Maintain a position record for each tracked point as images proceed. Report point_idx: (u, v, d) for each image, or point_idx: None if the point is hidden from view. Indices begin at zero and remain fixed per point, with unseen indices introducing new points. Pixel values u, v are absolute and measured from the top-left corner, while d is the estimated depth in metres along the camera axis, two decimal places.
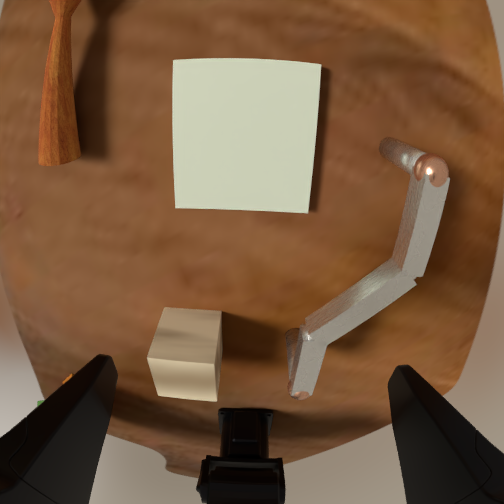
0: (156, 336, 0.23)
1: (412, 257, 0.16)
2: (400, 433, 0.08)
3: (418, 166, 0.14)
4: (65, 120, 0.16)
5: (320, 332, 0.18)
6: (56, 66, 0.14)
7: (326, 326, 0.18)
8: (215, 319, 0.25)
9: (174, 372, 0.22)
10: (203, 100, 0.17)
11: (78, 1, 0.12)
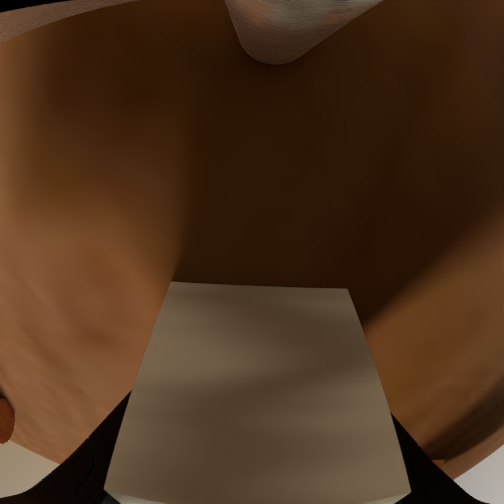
0: None
1: None
2: None
3: None
4: None
5: None
6: None
7: None
8: None
9: None
10: None
11: None
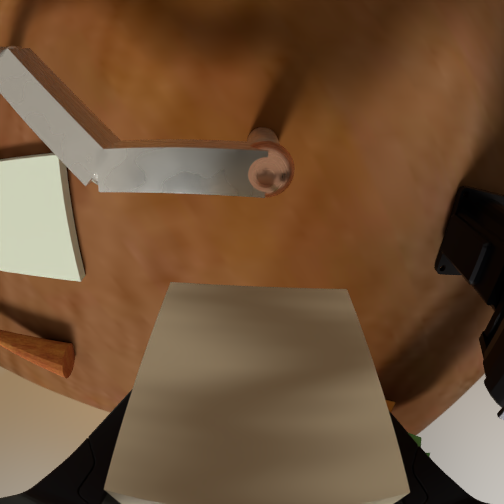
0: None
1: None
2: None
3: None
4: (37, 350, 0.22)
5: (78, 167, 0.10)
6: (7, 344, 0.21)
7: (66, 161, 0.10)
8: None
9: None
10: (4, 251, 0.19)
11: None
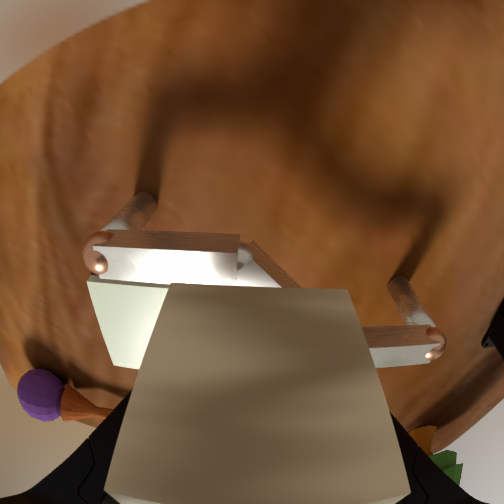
0: None
1: (205, 277, 0.12)
2: None
3: None
4: None
5: None
6: None
7: None
8: None
9: None
10: (137, 354, 0.23)
11: (86, 403, 0.26)
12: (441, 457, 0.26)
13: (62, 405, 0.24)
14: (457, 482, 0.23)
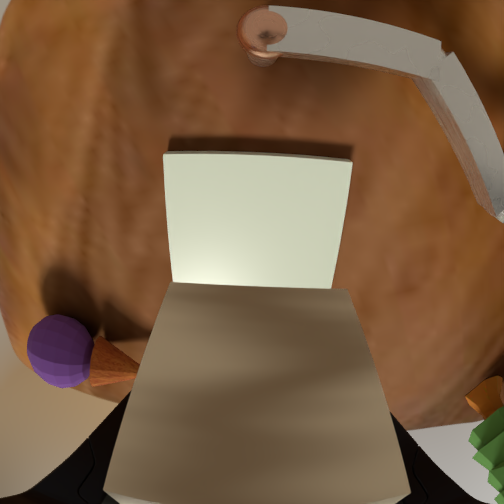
0: None
1: (410, 60, 0.08)
2: None
3: (260, 57, 0.09)
4: None
5: (497, 201, 0.10)
6: None
7: (491, 193, 0.10)
8: None
9: None
10: (215, 270, 0.19)
11: (126, 359, 0.22)
12: None
13: (93, 361, 0.20)
14: None
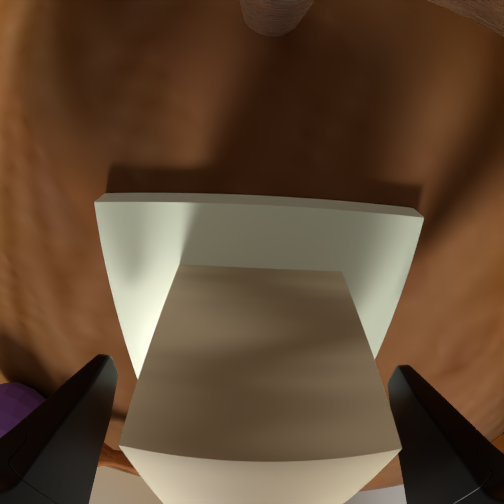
0: None
1: None
2: (400, 433, 0.08)
3: None
4: None
5: None
6: None
7: None
8: None
9: (211, 500, 0.06)
10: None
11: None
12: None
13: None
14: None
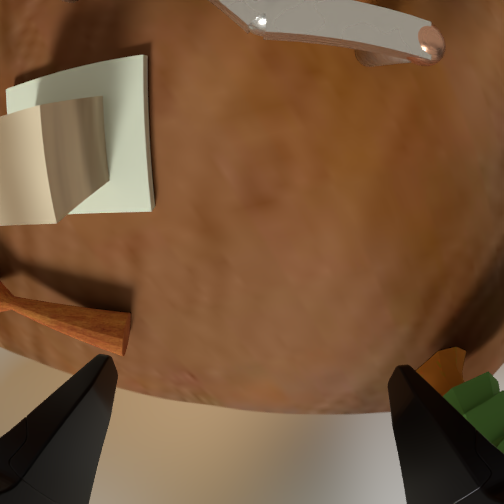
0: None
1: None
2: (400, 433, 0.08)
3: None
4: (87, 321, 0.20)
5: (241, 5, 0.08)
6: (43, 316, 0.19)
7: None
8: None
9: None
10: None
11: (1, 289, 0.19)
12: (483, 382, 0.19)
13: None
14: None
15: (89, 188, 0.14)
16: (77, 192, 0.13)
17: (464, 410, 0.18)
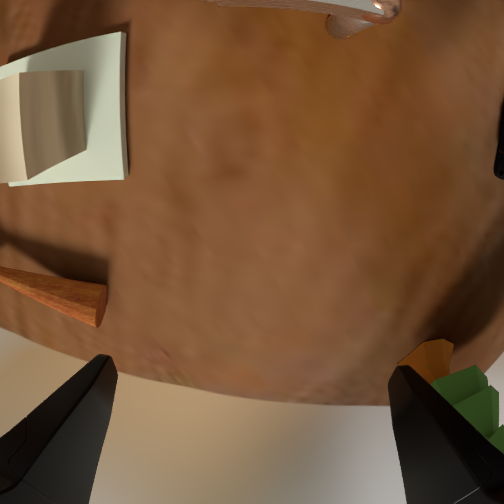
0: None
1: None
2: (400, 433, 0.08)
3: None
4: (63, 291, 0.20)
5: None
6: (23, 285, 0.19)
7: None
8: None
9: None
10: None
11: None
12: (469, 376, 0.19)
13: None
14: (496, 416, 0.16)
15: (64, 154, 0.14)
16: (51, 155, 0.13)
17: None
